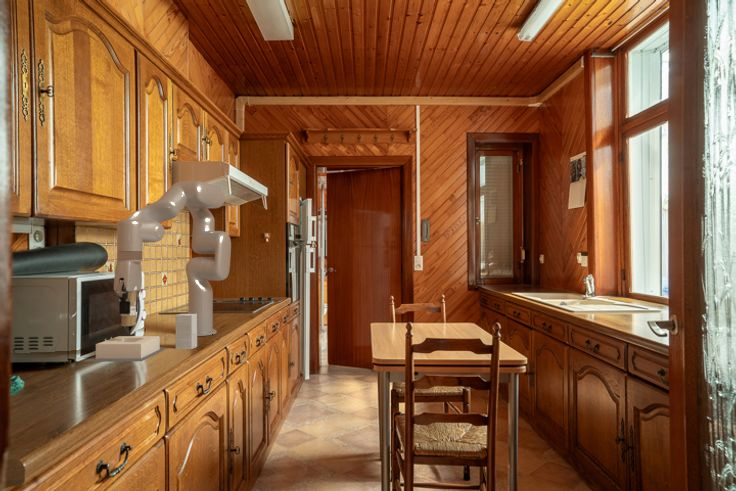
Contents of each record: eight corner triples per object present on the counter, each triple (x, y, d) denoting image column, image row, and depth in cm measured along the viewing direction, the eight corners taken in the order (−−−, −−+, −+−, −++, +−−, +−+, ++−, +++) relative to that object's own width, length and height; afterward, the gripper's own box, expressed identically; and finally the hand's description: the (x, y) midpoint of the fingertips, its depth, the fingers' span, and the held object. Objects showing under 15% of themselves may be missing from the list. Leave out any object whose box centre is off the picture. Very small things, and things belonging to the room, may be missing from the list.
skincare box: (197, 347, 169) (197, 313, 169) (191, 350, 164) (191, 315, 164) (180, 347, 169) (181, 313, 169) (174, 349, 165) (175, 315, 165)
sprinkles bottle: (137, 325, 156) (137, 284, 156) (121, 326, 153) (122, 284, 153) (135, 324, 159) (135, 283, 160) (119, 325, 157) (120, 284, 157)
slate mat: (115, 349, 165) (115, 348, 165) (167, 349, 166) (167, 348, 166) (81, 362, 145) (81, 361, 145) (141, 362, 146) (141, 361, 146)
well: (118, 349, 163) (118, 336, 163) (159, 349, 164) (159, 336, 164) (95, 358, 149) (95, 344, 149) (140, 358, 150) (141, 344, 150)
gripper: (130, 257, 165) (129, 310, 165) (104, 257, 148) (103, 316, 148) (152, 257, 165) (151, 310, 165) (128, 257, 149) (127, 316, 148)
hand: (128, 312), depth 156 cm, fingers closed on sprinkles bottle, 4 cm apart
